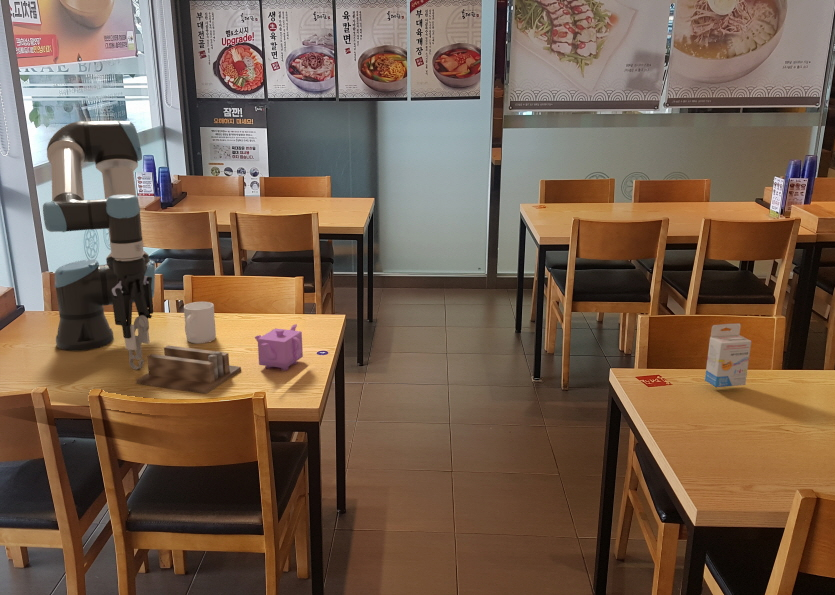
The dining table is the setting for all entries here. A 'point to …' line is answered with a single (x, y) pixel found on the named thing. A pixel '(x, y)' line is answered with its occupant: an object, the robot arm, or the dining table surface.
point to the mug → (199, 322)
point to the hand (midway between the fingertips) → (137, 345)
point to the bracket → (138, 342)
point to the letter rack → (188, 369)
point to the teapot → (280, 348)
